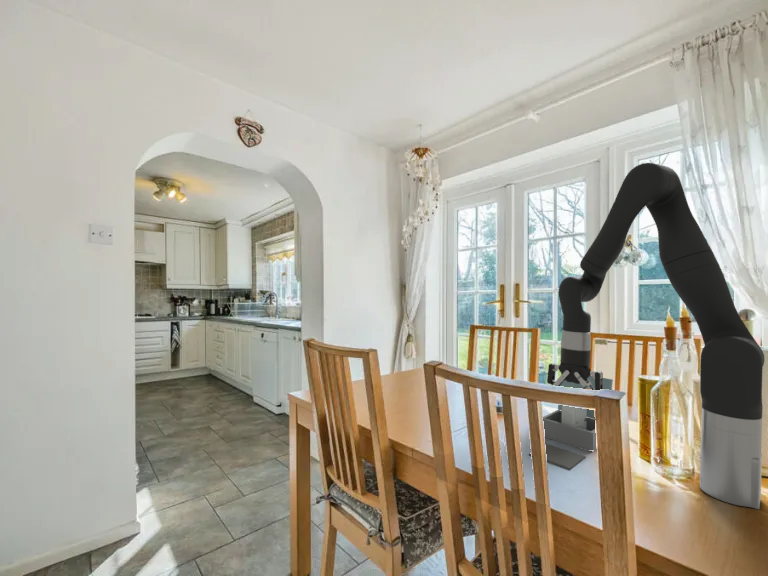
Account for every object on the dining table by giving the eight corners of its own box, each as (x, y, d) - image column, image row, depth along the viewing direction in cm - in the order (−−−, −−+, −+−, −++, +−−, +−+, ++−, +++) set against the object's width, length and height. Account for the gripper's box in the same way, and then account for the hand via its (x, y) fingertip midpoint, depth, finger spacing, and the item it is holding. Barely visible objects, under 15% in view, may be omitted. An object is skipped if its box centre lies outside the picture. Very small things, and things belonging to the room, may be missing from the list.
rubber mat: (585, 457, 93) (585, 456, 93) (569, 470, 87) (569, 468, 87) (546, 444, 101) (546, 443, 101) (528, 455, 94) (528, 453, 94)
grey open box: (607, 440, 105) (608, 422, 105) (592, 452, 97) (593, 433, 97) (557, 426, 115) (557, 409, 115) (539, 435, 107) (540, 418, 107)
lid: (608, 422, 105) (609, 422, 105) (611, 379, 106) (612, 379, 107) (557, 409, 115) (558, 409, 116) (561, 370, 117) (562, 370, 117)
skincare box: (575, 443, 102) (576, 399, 102) (560, 437, 106) (561, 395, 106) (587, 438, 106) (588, 396, 106) (572, 433, 109) (573, 392, 109)
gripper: (607, 349, 103) (605, 407, 103) (555, 342, 114) (553, 395, 114) (598, 352, 98) (595, 413, 98) (544, 344, 109) (542, 399, 109)
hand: (573, 403), depth 106 cm, fingers open, 8 cm apart
